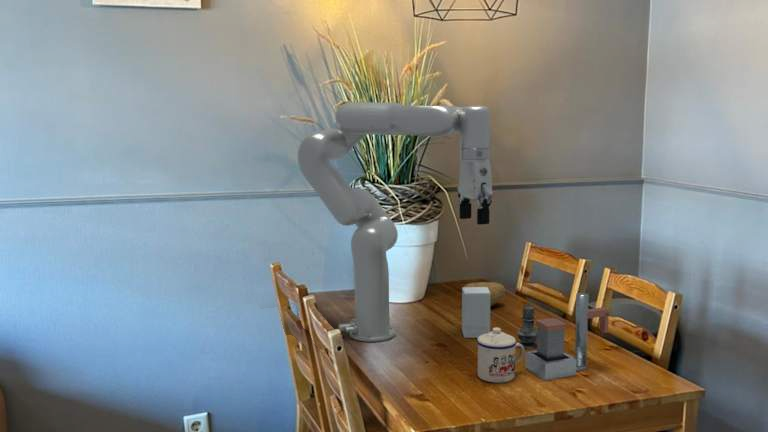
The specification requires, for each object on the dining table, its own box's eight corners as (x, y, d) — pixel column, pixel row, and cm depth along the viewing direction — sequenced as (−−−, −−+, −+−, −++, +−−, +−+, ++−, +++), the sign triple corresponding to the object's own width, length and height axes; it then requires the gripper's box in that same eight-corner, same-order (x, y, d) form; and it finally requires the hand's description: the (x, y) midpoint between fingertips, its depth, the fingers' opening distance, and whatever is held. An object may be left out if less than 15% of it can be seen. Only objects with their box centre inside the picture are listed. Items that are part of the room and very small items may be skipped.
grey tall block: (565, 373, 168) (566, 323, 166) (546, 376, 166) (547, 326, 164) (553, 366, 173) (554, 317, 171) (534, 369, 171) (535, 320, 169)
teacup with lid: (489, 386, 161) (489, 336, 159) (469, 372, 169) (469, 325, 167) (534, 378, 165) (535, 329, 164) (512, 365, 174) (513, 319, 172)
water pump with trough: (544, 380, 164) (546, 304, 161) (525, 367, 172) (526, 295, 169) (615, 368, 171) (618, 295, 168) (593, 357, 178) (595, 287, 176)
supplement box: (490, 338, 194) (491, 293, 192) (463, 338, 194) (463, 293, 192) (487, 329, 201) (488, 286, 199) (461, 329, 202) (461, 286, 200)
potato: (511, 308, 221) (511, 284, 220) (469, 313, 218) (469, 287, 216) (497, 300, 231) (497, 276, 230) (457, 304, 227) (457, 280, 226)
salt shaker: (539, 350, 184) (540, 305, 182) (516, 348, 185) (516, 304, 183) (539, 342, 190) (539, 299, 188) (516, 341, 191) (517, 298, 189)
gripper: (504, 156, 174) (503, 225, 177) (471, 152, 190) (471, 215, 193) (477, 157, 172) (476, 227, 174) (446, 153, 188) (446, 217, 190)
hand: (474, 221), depth 183 cm, fingers open, 9 cm apart
